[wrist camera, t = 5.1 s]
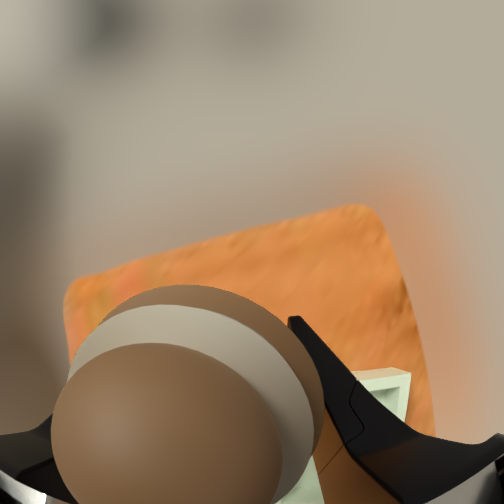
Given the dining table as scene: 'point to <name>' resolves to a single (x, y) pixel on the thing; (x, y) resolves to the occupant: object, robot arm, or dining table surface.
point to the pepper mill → (187, 403)
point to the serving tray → (385, 391)
